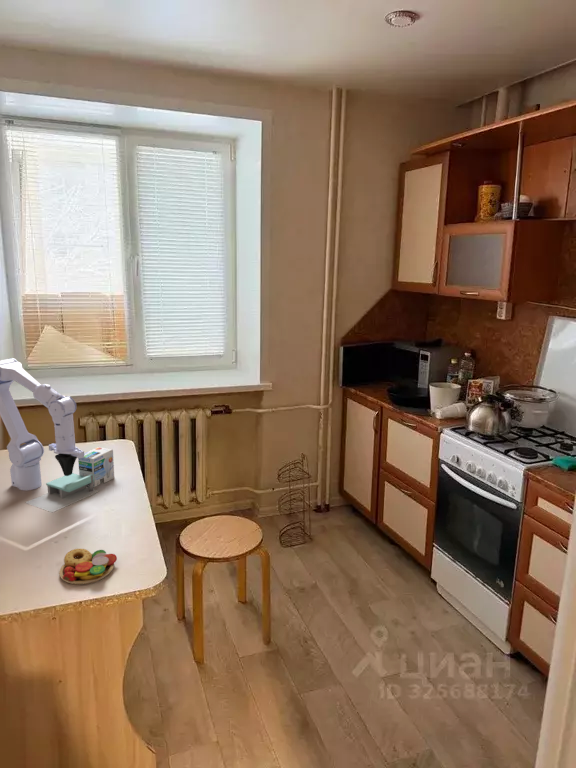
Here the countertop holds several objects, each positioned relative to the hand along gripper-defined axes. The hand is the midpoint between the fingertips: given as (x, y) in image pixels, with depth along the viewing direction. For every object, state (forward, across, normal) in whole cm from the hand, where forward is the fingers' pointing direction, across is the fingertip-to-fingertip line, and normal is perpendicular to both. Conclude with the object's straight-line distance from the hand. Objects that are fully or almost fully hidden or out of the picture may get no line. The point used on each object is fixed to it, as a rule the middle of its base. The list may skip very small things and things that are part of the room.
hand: (68, 474), depth 175 cm
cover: (+3, 0, +1) cm, 3 cm away
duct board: (+7, 0, -3) cm, 8 cm away
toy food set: (+8, +40, -27) cm, 49 cm away
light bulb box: (+8, -1, +13) cm, 15 cm away
